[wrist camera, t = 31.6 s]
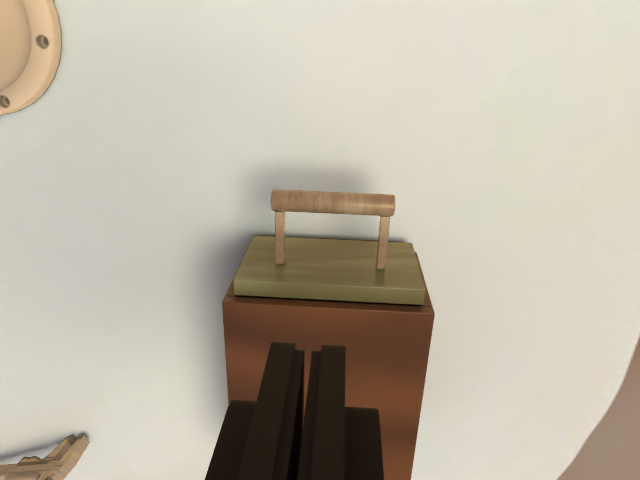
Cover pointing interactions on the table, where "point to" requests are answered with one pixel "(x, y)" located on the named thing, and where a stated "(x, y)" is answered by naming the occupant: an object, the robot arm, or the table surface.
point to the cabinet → (361, 357)
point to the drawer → (331, 256)
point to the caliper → (48, 462)
